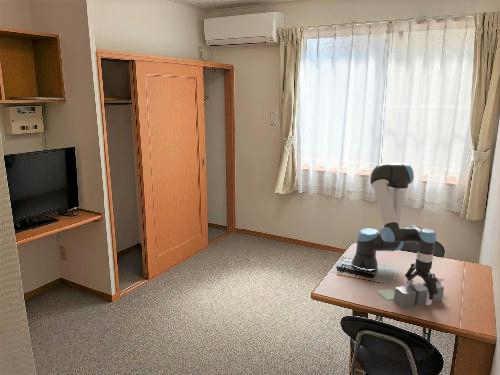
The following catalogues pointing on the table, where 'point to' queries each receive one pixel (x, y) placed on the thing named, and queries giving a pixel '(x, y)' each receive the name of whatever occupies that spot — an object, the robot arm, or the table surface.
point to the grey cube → (440, 292)
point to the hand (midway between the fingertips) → (418, 297)
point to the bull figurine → (437, 280)
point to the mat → (387, 294)
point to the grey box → (420, 293)
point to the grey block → (404, 296)
